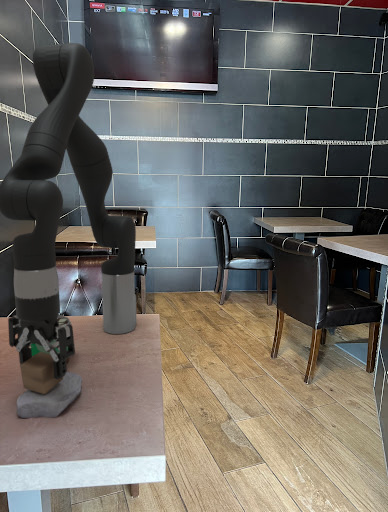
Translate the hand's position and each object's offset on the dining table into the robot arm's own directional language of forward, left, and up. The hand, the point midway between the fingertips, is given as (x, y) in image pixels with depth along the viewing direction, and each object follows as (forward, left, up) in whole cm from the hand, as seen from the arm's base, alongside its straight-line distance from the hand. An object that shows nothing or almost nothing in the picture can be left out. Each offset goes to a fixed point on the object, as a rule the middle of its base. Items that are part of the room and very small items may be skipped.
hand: (43, 372), depth 70 cm
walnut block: (0, 0, -2) cm, 2 cm away
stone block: (-1, +1, -7) cm, 7 cm away
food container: (-13, -9, -6) cm, 17 cm away
